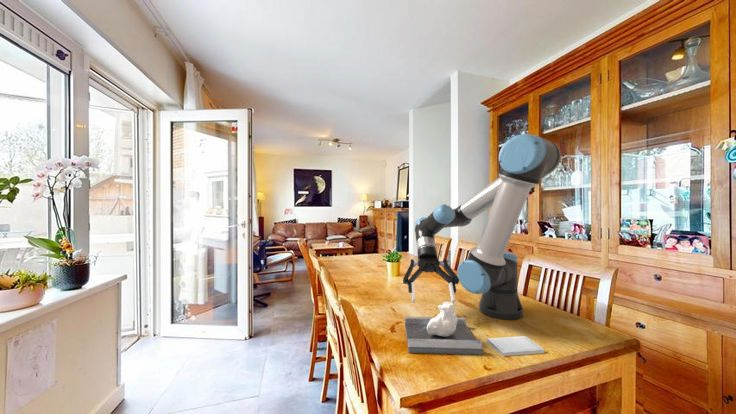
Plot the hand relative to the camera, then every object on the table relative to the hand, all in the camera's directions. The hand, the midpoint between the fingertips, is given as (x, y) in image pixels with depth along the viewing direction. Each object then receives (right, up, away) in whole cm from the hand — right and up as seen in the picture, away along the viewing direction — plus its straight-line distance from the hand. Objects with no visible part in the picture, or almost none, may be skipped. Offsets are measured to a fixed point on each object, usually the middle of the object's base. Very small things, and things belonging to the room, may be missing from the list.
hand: (433, 301), depth 94 cm
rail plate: (-1, -8, -10) cm, 13 cm away
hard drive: (+19, -8, -16) cm, 26 cm away
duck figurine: (+1, -7, -11) cm, 12 cm away
